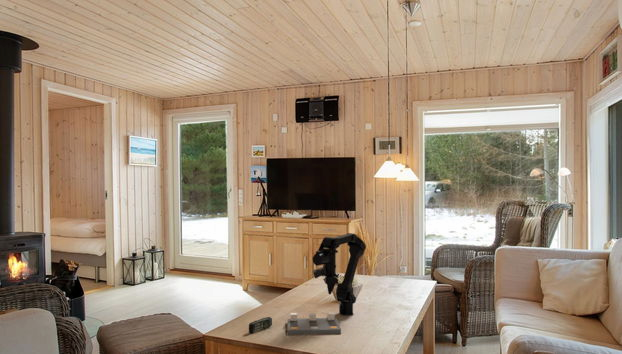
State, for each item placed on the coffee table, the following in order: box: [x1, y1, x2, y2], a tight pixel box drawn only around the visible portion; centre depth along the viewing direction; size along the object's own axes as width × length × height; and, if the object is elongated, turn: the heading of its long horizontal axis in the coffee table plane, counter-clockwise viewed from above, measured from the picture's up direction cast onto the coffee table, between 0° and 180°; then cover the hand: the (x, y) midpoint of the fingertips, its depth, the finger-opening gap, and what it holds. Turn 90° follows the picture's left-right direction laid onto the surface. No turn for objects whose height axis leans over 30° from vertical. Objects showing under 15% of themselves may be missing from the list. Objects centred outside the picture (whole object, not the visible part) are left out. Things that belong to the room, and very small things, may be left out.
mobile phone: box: [248, 316, 273, 335], centre depth 199 cm, size 5×3×15 cm
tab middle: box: [308, 312, 317, 321], centre depth 206 cm, size 3×2×3 cm
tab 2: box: [327, 311, 335, 320], centre depth 206 cm, size 3×2×3 cm
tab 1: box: [290, 312, 298, 321], centre depth 205 cm, size 3×2×3 cm
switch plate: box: [286, 317, 342, 336], centre depth 201 cm, size 24×16×2 cm, turn 94°
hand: (329, 294), depth 212 cm, fingers closed
